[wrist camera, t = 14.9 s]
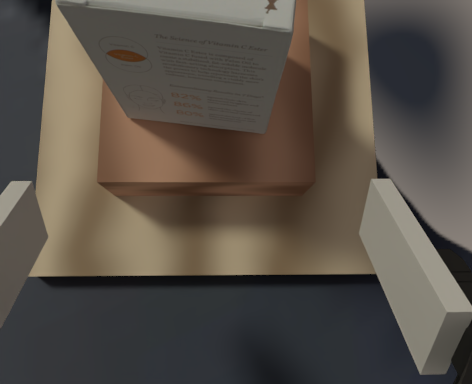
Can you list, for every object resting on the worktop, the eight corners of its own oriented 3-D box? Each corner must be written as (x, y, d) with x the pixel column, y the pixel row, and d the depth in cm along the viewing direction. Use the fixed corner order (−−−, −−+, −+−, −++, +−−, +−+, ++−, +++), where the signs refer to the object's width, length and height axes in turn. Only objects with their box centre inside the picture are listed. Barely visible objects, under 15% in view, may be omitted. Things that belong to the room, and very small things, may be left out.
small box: (276, 48, 25) (314, -114, 15) (265, 137, 24) (299, 32, 14) (140, 30, 25) (83, -145, 15) (124, 119, 24) (49, 0, 13)
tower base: (36, 276, 27) (-7, 276, 22) (61, -28, 31) (30, -87, 26) (377, 274, 28) (412, 273, 23) (356, -23, 32) (382, -79, 27)
